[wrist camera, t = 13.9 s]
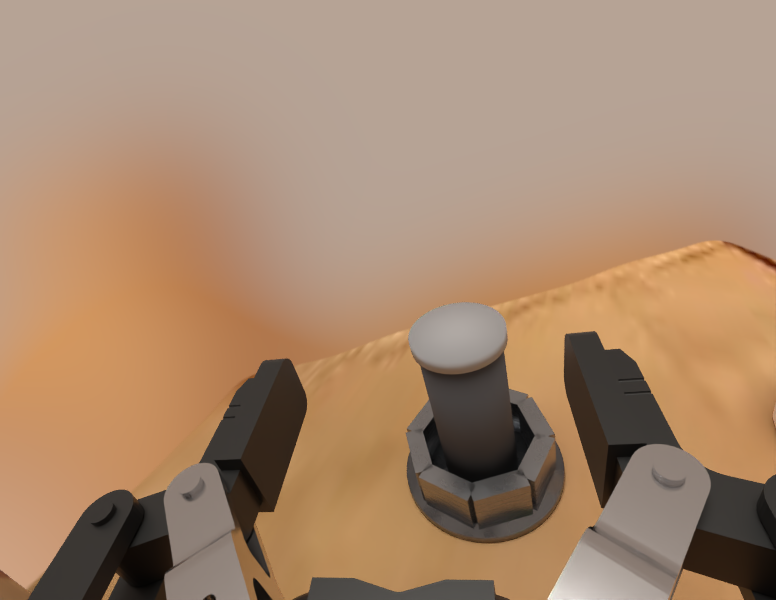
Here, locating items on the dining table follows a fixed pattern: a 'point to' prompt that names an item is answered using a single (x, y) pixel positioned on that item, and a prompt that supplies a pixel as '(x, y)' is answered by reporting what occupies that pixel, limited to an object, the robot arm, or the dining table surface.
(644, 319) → the dining table surface
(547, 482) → the octagonal ring holder
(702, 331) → the dining table surface
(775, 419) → the white cup
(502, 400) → the white-topped grey cylinder
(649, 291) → the dining table surface
